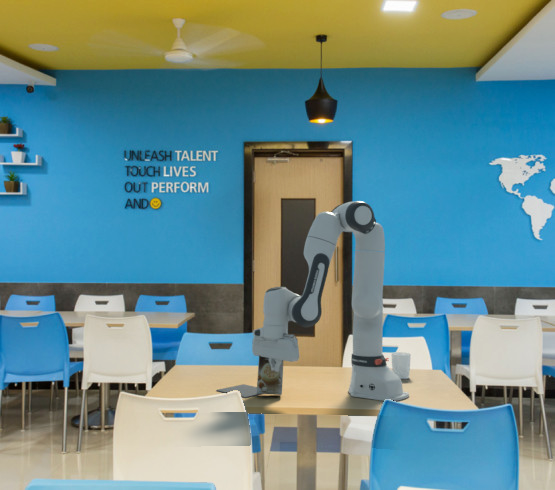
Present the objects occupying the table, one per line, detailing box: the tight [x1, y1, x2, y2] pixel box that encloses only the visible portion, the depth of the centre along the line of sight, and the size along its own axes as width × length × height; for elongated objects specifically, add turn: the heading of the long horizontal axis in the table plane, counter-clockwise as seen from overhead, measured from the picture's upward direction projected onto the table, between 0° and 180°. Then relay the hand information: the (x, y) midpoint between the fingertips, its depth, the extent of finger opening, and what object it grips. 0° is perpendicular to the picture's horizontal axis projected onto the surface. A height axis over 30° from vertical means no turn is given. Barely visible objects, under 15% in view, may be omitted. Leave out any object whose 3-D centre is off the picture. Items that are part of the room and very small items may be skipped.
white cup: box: [391, 351, 412, 380], centre depth 246 cm, size 8×8×10 cm
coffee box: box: [256, 356, 284, 396], centre depth 212 cm, size 9×6×16 cm
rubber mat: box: [216, 384, 262, 399], centre depth 219 cm, size 16×14×1 cm
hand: (275, 371), depth 208 cm, fingers closed
